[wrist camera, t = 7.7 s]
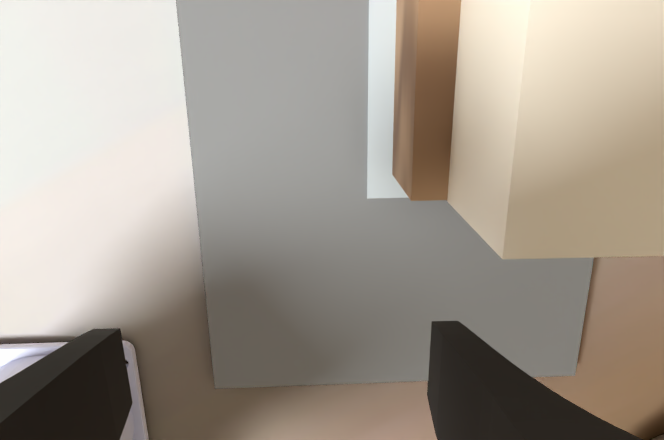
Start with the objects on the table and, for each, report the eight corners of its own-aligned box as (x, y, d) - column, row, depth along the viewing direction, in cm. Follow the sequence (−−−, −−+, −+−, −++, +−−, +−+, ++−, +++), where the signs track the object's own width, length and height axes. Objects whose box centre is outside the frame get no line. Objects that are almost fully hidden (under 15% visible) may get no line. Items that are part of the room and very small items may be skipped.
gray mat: (568, 368, 24) (576, 376, 24) (217, 380, 24) (214, 390, 23) (632, -44, 19) (644, -48, 18) (175, -41, 18) (170, -45, 18)
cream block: (580, 199, 17) (687, 255, 12) (447, 201, 17) (502, 259, 12) (616, -33, 15) (763, -76, 10) (463, -33, 14) (538, -78, 10)
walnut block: (561, 170, 21) (618, 196, 17) (392, 174, 20) (410, 200, 17) (586, -17, 18) (658, -36, 15) (396, -16, 18) (419, -35, 14)
